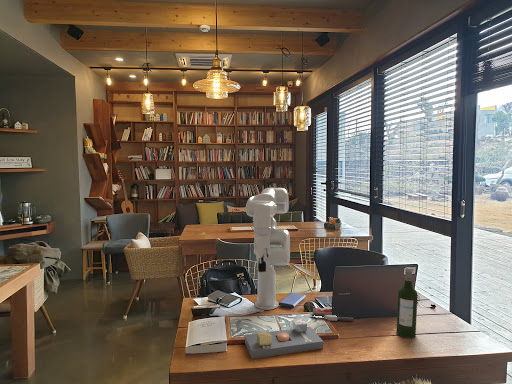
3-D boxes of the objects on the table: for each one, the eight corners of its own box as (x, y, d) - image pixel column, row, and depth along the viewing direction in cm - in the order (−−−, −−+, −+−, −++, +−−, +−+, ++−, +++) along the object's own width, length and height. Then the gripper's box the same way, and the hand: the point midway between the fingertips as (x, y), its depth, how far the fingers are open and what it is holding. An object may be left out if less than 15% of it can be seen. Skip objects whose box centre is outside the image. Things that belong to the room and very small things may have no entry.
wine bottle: (413, 331, 156) (416, 266, 153) (417, 339, 148) (420, 271, 146) (395, 328, 158) (397, 264, 155) (397, 337, 150) (400, 270, 148)
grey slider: (292, 328, 150) (292, 320, 150) (303, 326, 152) (303, 319, 151) (296, 332, 146) (296, 324, 146) (306, 331, 148) (307, 323, 148)
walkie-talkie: (311, 320, 166) (354, 322, 165) (311, 311, 166) (354, 313, 164) (310, 312, 175) (350, 314, 173) (310, 304, 175) (350, 306, 173)
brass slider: (256, 341, 139) (256, 332, 139) (268, 339, 141) (268, 331, 140) (259, 346, 135) (259, 337, 135) (271, 344, 137) (271, 336, 136)
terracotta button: (275, 339, 145) (275, 333, 144) (286, 338, 146) (286, 332, 146) (279, 345, 140) (279, 339, 140) (290, 343, 141) (290, 337, 141)
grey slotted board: (244, 341, 145) (244, 334, 145) (309, 333, 153) (310, 326, 153) (252, 358, 133) (252, 350, 133) (323, 348, 141) (323, 340, 141)
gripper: (250, 228, 159) (249, 267, 160) (258, 234, 144) (258, 277, 146) (265, 227, 160) (265, 265, 162) (275, 233, 146) (275, 276, 148)
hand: (262, 271), depth 154 cm, fingers closed
